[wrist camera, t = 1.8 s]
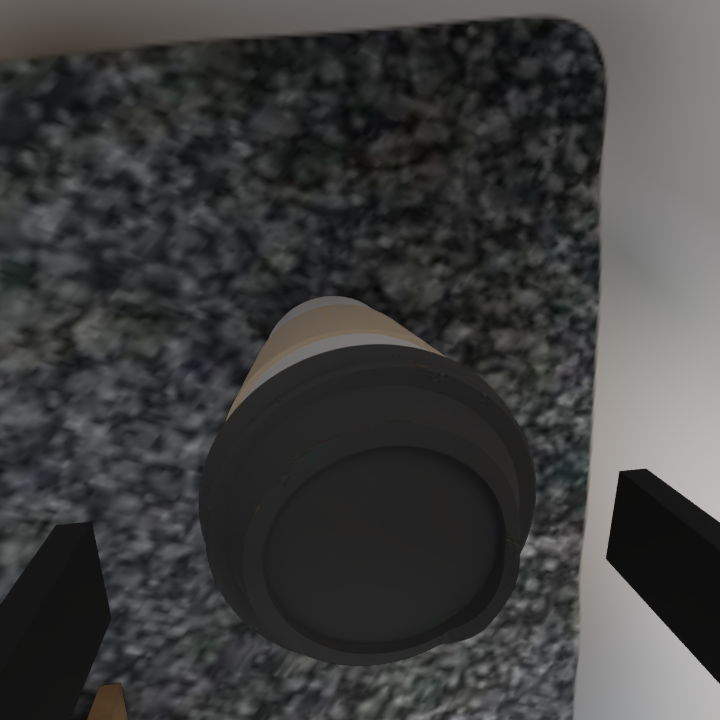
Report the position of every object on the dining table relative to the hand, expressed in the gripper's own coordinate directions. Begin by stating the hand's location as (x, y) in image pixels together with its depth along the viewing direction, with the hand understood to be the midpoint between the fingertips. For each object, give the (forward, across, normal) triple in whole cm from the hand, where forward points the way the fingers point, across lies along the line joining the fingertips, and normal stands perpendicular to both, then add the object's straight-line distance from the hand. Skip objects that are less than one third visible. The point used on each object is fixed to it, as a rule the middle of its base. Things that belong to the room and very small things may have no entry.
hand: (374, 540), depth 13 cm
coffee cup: (+14, 0, 0) cm, 14 cm away
